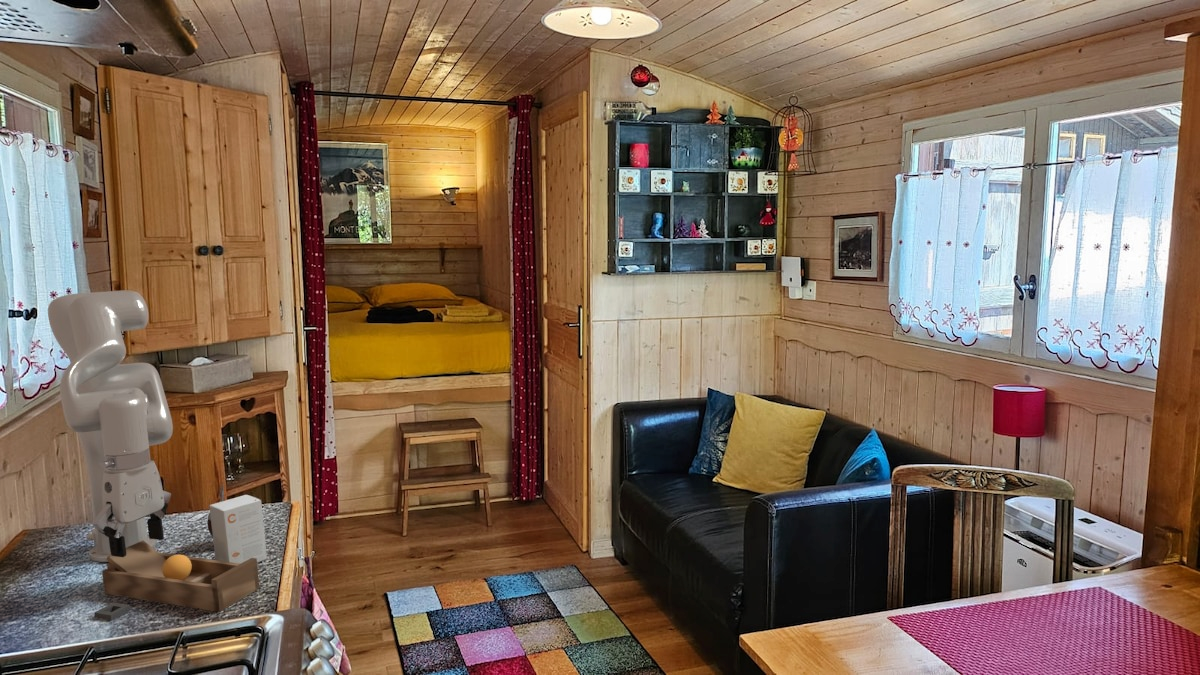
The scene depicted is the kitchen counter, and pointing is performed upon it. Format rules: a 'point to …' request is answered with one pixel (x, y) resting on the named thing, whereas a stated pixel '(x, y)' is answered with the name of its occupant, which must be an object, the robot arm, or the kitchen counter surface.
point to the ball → (177, 567)
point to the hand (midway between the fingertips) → (138, 546)
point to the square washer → (112, 611)
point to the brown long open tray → (200, 589)
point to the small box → (238, 529)
